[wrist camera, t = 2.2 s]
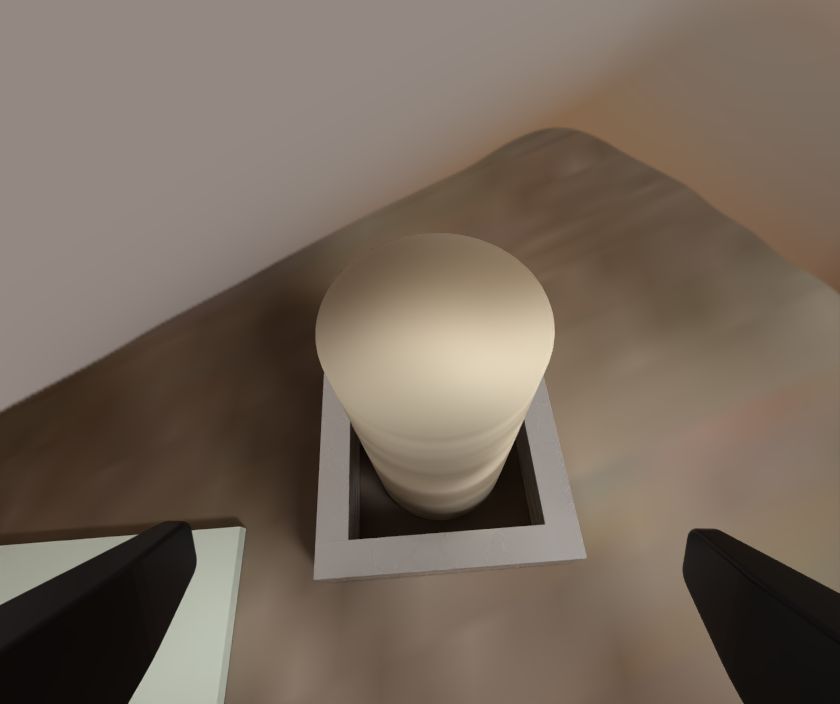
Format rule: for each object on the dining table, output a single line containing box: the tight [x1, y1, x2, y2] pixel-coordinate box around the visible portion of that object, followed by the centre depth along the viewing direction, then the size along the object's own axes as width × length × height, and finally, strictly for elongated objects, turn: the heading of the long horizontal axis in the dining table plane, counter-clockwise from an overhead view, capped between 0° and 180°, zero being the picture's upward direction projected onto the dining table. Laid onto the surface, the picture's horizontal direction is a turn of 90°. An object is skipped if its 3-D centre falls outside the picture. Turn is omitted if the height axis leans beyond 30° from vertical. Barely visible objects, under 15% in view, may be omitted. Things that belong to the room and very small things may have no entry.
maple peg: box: [315, 233, 555, 520], centre depth 15 cm, size 6×6×11 cm
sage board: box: [0, 527, 246, 704], centre depth 15 cm, size 11×11×1 cm
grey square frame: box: [314, 372, 587, 582], centre depth 19 cm, size 10×10×2 cm
